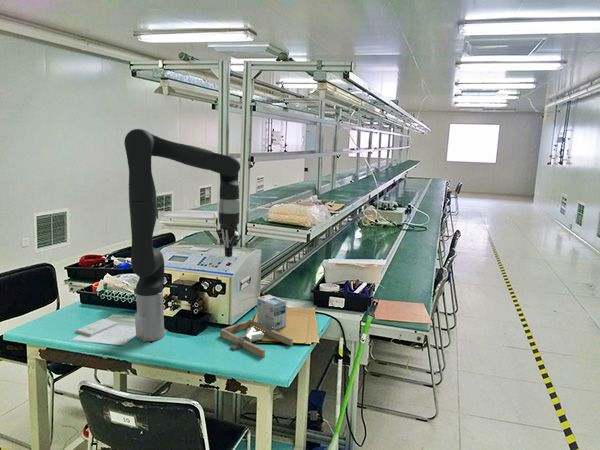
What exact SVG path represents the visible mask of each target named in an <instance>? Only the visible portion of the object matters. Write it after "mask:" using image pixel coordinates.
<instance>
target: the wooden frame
mask: <svg viewBox="0 0 600 450" xmlns="http://www.w3.org/2000/svg"><path fill="white" fill-rule="evenodd" d="M253 326H255V327H253ZM251 327H253V328H254V329H256V331H261V332H263V333H264V336H265V335H266V336H267V337H270V338H272V339H274V340H277V341H279V342H280V343H283V344H285V345H288V346H290V347H292V346H293V345H294V339H293V337H290V336H288V335H285V334H283V333H281V332H280V333H279V332H277V331H275V330H271V331H270V330H268V329H266V326H264V325H261V324H259V323H257V321H255V320H252V319H248V320H245V321H242V322H239V323H236V324H233V325H230V326H227V327H224V328H222V329H220V332H219V334H220V337H221V338H223V339H226V340H228V341H229V342H232V343H233V344H234V345H235V344H237V343H239V344H241V345H242V349H245V350H247V351H249V352H250V353H253V354H254V355H256V356H258V357H260V358H265V357H266V350H265V348H263V347H260V346H258V345H256V344H254V343H253V342H251V343H250V342H248V341H246V340H244V341H242V340H240V339H238V337H239V336H238V335H237V334H234V333H237V332H241V331H242V330H243V331H244V330H247V329H248V328H251ZM256 327H257V328H256ZM258 328H259V329H258ZM260 329H261V330H260ZM262 330H263V331H262ZM264 331H265V332H264Z"/></svg>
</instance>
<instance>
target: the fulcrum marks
mask: <svg viewBox="0 0 600 450" xmlns="http://www.w3.org/2000/svg"><path fill="white" fill-rule="evenodd" d="M266 329H268V330H270V331H271V330H273V329H272V328H270V327H266ZM275 331H277V332H279V333H281V332H280V330H279V329H277V330H276V329H275ZM238 339H240V340H242V341H244V340H246V339H244V338H242V336H238ZM229 348H230V349H231V350H232V351H237V350H239V349H243V347H242V345H241V344H239V343H237V344H235V343H234V344H232V345H230V346H229Z"/></svg>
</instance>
